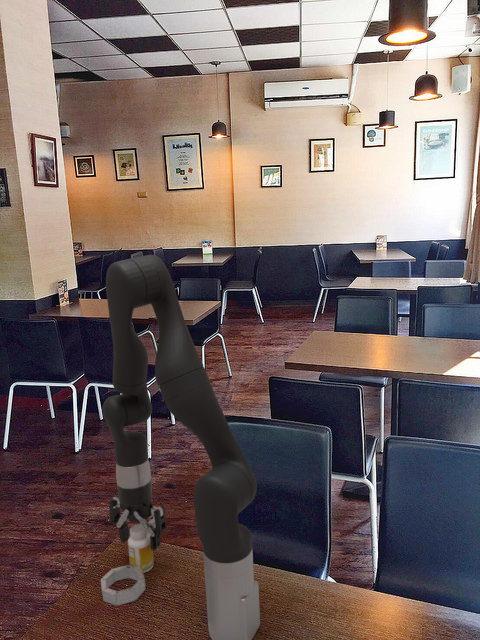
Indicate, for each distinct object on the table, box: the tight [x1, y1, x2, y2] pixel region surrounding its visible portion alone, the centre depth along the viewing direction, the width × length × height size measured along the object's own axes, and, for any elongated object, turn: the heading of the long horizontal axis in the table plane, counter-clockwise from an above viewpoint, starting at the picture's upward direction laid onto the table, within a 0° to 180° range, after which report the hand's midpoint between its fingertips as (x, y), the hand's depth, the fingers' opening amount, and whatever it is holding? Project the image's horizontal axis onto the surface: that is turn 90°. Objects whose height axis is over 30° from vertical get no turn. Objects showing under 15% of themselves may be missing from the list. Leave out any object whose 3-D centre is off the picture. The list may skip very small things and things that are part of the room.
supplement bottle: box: [127, 523, 155, 574], centre depth 118 cm, size 5×5×10 cm
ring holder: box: [100, 564, 146, 607], centre depth 111 cm, size 9×9×2 cm
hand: (139, 544), depth 118 cm, fingers open, 8 cm apart
